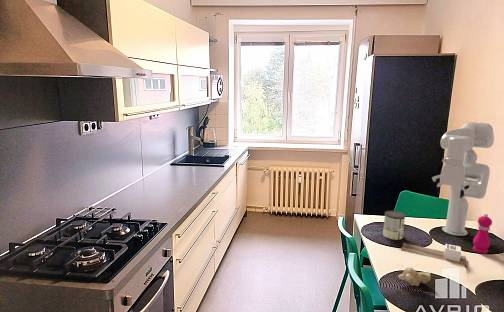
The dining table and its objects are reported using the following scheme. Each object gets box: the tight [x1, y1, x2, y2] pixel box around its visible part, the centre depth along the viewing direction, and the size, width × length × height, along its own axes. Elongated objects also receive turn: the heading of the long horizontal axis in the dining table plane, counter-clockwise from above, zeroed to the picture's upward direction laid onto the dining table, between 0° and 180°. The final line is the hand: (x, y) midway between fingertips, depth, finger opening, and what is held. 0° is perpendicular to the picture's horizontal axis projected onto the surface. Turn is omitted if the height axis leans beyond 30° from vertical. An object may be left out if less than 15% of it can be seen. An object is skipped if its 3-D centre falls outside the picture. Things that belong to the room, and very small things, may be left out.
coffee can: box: [382, 210, 406, 241], centre depth 188 cm, size 10×10×14 cm
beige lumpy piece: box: [397, 266, 432, 287], centre depth 143 cm, size 8×7×12 cm
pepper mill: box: [472, 213, 493, 255], centre depth 175 cm, size 7×7×20 cm
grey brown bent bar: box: [400, 242, 468, 269], centre depth 169 cm, size 10×28×2 cm, turn 61°
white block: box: [443, 243, 462, 262], centre depth 165 cm, size 6×6×5 cm
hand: (449, 196), depth 172 cm, fingers open, 9 cm apart
